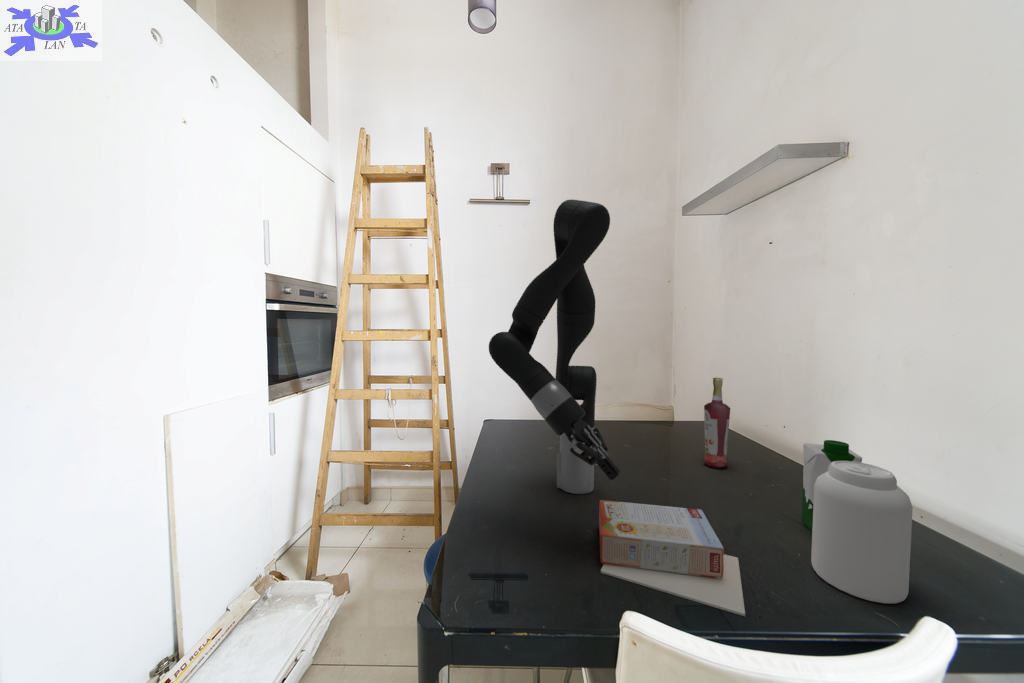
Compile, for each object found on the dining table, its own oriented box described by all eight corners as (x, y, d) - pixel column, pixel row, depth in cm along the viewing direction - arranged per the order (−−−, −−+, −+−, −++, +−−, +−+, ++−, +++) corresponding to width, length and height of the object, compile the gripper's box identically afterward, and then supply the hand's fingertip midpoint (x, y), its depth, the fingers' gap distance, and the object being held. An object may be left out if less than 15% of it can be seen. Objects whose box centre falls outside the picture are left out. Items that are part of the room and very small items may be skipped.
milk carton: (812, 538, 80) (815, 443, 79) (795, 518, 88) (798, 432, 87) (864, 546, 77) (868, 448, 76) (842, 524, 85) (846, 436, 85)
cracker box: (599, 565, 70) (724, 581, 65) (599, 533, 70) (725, 546, 65) (599, 525, 84) (702, 536, 79) (599, 498, 83) (703, 507, 79)
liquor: (733, 470, 118) (736, 379, 117) (709, 469, 118) (712, 379, 117) (720, 461, 125) (723, 376, 124) (698, 461, 125) (700, 376, 124)
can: (888, 616, 58) (895, 487, 57) (796, 570, 69) (800, 461, 68) (921, 591, 64) (927, 473, 63) (831, 551, 75) (835, 451, 74)
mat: (600, 572, 68) (600, 570, 68) (619, 530, 82) (619, 528, 82) (745, 616, 58) (745, 614, 58) (737, 559, 72) (737, 557, 72)
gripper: (558, 401, 72) (623, 477, 67) (579, 390, 84) (636, 455, 79) (532, 425, 75) (592, 500, 70) (556, 412, 86) (610, 475, 81)
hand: (616, 476), depth 74 cm, fingers closed
